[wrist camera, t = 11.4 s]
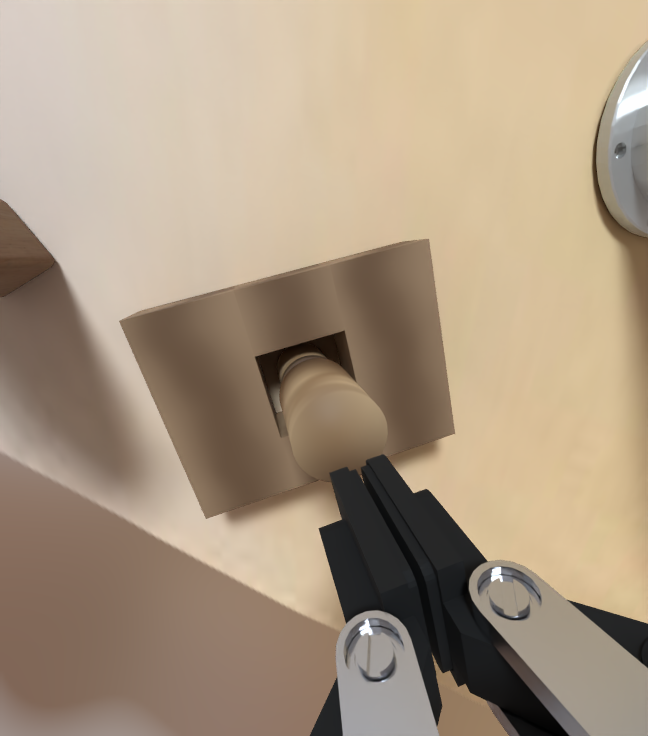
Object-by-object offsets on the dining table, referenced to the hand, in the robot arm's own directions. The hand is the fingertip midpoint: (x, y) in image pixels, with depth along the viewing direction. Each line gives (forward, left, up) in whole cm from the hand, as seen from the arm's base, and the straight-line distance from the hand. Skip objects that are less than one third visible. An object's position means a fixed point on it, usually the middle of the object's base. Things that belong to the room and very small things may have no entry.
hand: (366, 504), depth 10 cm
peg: (0, 0, -14) cm, 14 cm away
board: (0, 0, -14) cm, 14 cm away
